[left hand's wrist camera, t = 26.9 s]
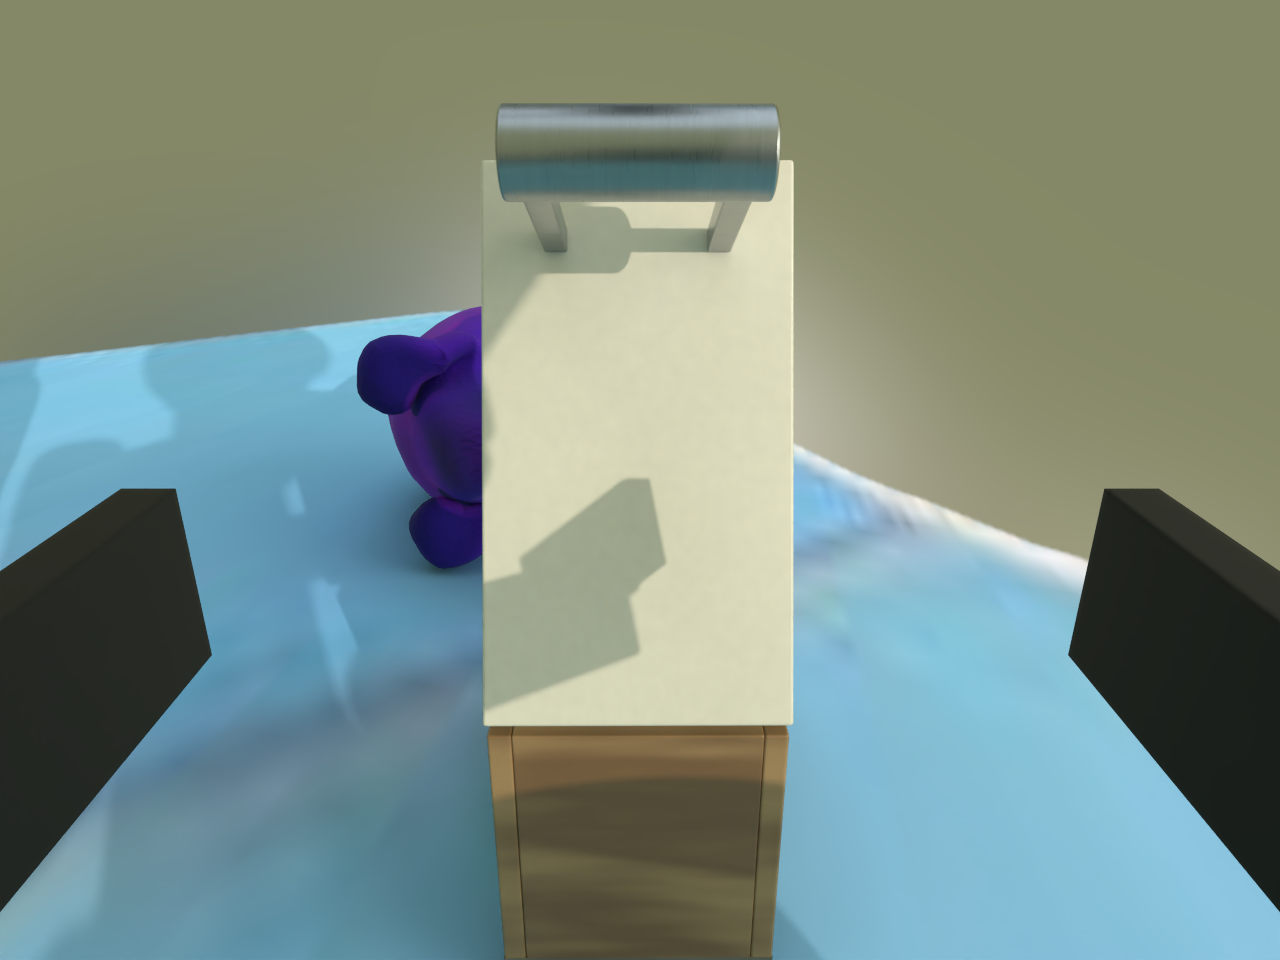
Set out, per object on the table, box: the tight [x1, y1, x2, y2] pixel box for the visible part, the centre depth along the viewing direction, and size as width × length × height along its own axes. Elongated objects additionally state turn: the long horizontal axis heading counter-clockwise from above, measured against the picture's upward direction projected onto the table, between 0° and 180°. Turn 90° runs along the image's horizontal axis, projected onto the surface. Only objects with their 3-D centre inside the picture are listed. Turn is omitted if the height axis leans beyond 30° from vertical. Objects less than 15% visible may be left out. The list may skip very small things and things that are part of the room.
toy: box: [357, 306, 482, 569], centre depth 61 cm, size 16×18×27 cm
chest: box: [487, 725, 789, 960], centre depth 36 cm, size 16×9×10 cm, turn 0°
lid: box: [481, 103, 793, 726], centre depth 22 cm, size 17×9×9 cm
